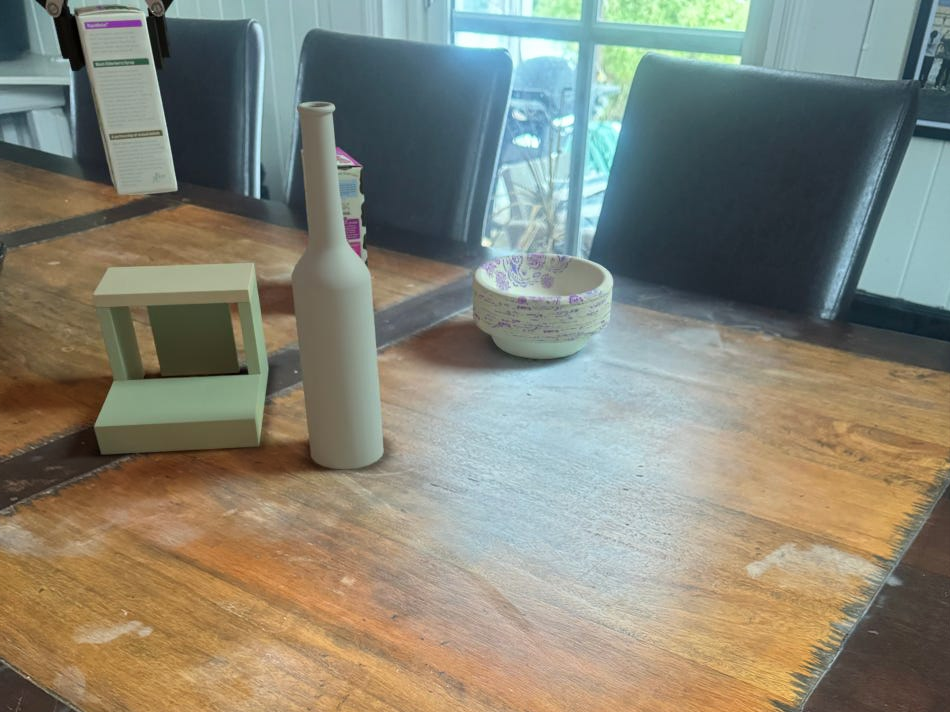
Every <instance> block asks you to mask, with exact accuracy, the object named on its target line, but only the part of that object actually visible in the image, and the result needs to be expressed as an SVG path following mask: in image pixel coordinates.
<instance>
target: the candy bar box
mask: <svg viewBox="0 0 950 712" xmlns="http://www.w3.org/2000/svg"><path fill="white" fill-rule="evenodd" d="M335 148H336V159H337V170H338V181H339V191H340V198H341V206H342V213H343V220H344V227H345V234H346V239H347V242H348V244H349V245H350V246H351V248H352V249H353V250H354V251H355V253H356V254H357V255H358V256H359V257H360V258H361V259H362V260H363V261H364V263H365V264H366V266H367V268H368V269H369V265H368V247H367V246H368V245H367V244H368V243H367V227H366V224H367V223H366V207H365V206H366V205H365V204H366V203H365V188H364V171H363V170H364V169H363V168H364V167H363V165H362V164H361V163H359V162H358V161H356V160H355V159H354V158H353V157H351V156H350V154H348V153H347V152H345V151H344V150H343V149H341V148H340V147H339V146H338V147H337V146H335ZM300 156H301V164H302V165H301V166H302V174H303V175H302V176H303V189H304V199H305V208H306V209H305V210H306V220H307V222H308V203H307V186H306V175H305V165H304V154H303V148H302V149H300ZM307 230H308V231H307V232H308V234H309V226H308V225H307Z"/></svg>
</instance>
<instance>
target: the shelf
mask: <svg viewBox="0 0 950 712" xmlns="http://www.w3.org/2000/svg"><path fill="white" fill-rule="evenodd" d="M256 276H257V275H256V268H255V263H254V262H237V263H236V262H234V263H206V264H205V263H203V264H199V263H198V264H175V265H143V266H141V265H140V266H139V265H138V266H111V267H107V269H106V271H105V273H104V275H103V276H102V278H101V280H100V281H99V283H98V284H97V287H96V288H95V290H94V292H93V293H92V298H93V302H94V303H93V304H94V306H95V310H96V314H97V319H98V322H99V326H100V331H101V334H102V339H103V343H104V346H105V350H106V355H107V360H108V363H109V366H110V371H111V375H112V379H113V382H112V384H111V386H110V389H109V391H108V393H107V396H106V398H105V400H104V402H103V405H102V407H101V410H100V412H99V414H98V416H97V418H96V421H95V423H94V425H93V429H94V433H95V436H96V440H97V443H98V448H99V451H100V455H117V454H120V455H121V454H137V453H139V454H140V453H157V452H176V451H194V450H196V451H197V450H214V449H216V450H217V449H234V448H254V447H255V448H256V447H260V444H261V443H260V442H261V434H262V426H263V419H264V418H263V417H264V409H265V403H266V402H265V401H266V393H267V384H268V377H269V369H270V368H269V362H268V361H269V360H268V354H267V346H266V340H265V332H264V326H263V318H262V312H261V311H262V310H261V303H260V298H259V289H258V284H257V283H258V282H257V277H256ZM231 303H237V309H238V315H239V322H240V329H241V334H242V341H243V347H244V348H243V349H244V354H245V361H246V369H247V373H248V374H240V372H241V369H240V368H241V367H240V361H239V356H238V349H237V343H236V337H235V330H234V324H233V318H232V312H231V305H230V304H231ZM131 307H146V310H147V315H148V319H149V323H150V328H151V333H152V338H153V342H154V346H155V347H154V348H155V352H156V357H157V360H158V365H159V369H160V371H159V372H160V374H161V377H165V378H144V377H145V375H146V373H145V368H144V363H143V361H142V360H143V359H142V355H141V352H140V351H141V350H140V346H139V343H138V337H137V334H136V329H135V324H134V321H133V316H132V311H131ZM217 374H218V375H217ZM219 374H220V375H219ZM221 374H233V375H221ZM194 375H195V376H194ZM196 375H211V376H196ZM213 375H214V376H213ZM173 376H188V377H173ZM189 376H190V377H189ZM166 377H167V378H166Z"/></svg>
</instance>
